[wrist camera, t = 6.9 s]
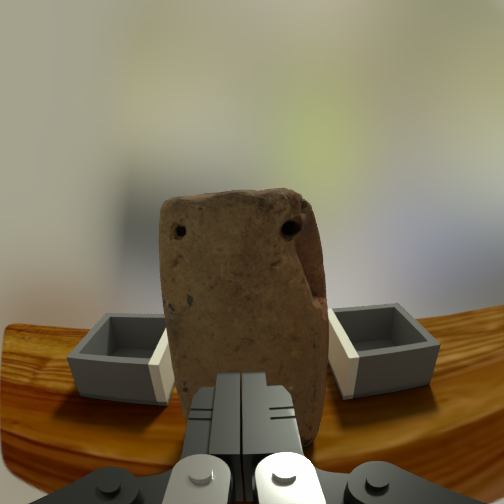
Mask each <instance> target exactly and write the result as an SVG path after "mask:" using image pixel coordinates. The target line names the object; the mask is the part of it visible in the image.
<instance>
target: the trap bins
mask: <svg viewBox="0 0 504 504" xmlns="http://www.w3.org/2000/svg"><path fill="white" fill-rule="evenodd" d="M328 318H329V352H328V363H329V366H330V368H331V371H332V373H333V376H334V378H335V381H336V383H337V386H338V388H339V391H340V394H341V396H342V399H343V400H345V399H353V398H360V397H366V396H372V395H378V394H384V393H390V392H395V391H400V390H405V389H410V388H415V387H419V386H424V385H428V384H430V381H431V378H432V375H433V371H434V368H435V364H436V360H437V356H438V353H439V349H440V345H441V344H440V343H439V342H438V341H437V340H436V339H435V338H434V337H433V336H432V335H431V334H430V333H429V332H428V331H427V330H426V329H424V328H423V327H422V326H421V325H420V324H419V323H418V322H417V321H416V320H415V319H414V318H413V317H412V316H411V315H410V314H409V313H408V312H407V311H406V310H405V309H404V308H403V307H402V306H401V305H400V304H398V303H395V304H384V305H373V306H361V307H349V308H337V309H328ZM67 360H68V363H69V366H70V369H71V372H72V375H73V378H74V380H75V383H76V386H77V389H78V391H79V394H80V396H83V397H89V398H96V399H103V400H110V401H119V402H128V403H138V404H149V405H162V406H168V403H169V400H170V397H171V394H172V390H173V387H174V384H175V379H174V373H173V369H172V362H171V356H170V350H169V344H168V337H167V330H166V323H165V315H164V314H119V313H118V314H116V313H106V314H105V315H104V316H103V317H102V318H101V320H100V321H98V323H97V324H96V325H95V326H94V327H93V328H92V329H91V330H90V331H89V332H88V334H87V335H86V336H85V337H84V338H83V339H82V340H81V341H80V343H79V344H78V345H77V346H76V347H75V348H74V349H73V350H72V352H71V353H70V354H69V355H68V356H67Z"/></svg>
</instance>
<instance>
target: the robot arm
mask: <svg viewBox="0 0 504 504" xmlns="http://www.w3.org/2000/svg"><path fill="white" fill-rule="evenodd" d="M243 464H244V479H245V493H246V501H253V504H486V503H484V502H481V501H478V500H475V499H472V498H470V497H467V496H464V495H462V494H459V493H456V492H454V491H451V490H449V489H446V488H444V487H441V486H439V485H437V484H434V483H432V482H430V481H427V480H425V479H423V478H421V477H418V476H416V475H414V474H412V473H410V472H407V471H405V470H403V469H401V468H399V467H397V466H395V465H393V464H390V463H387V462H383V461H371V462H366V463H364V464H361V465H359V466H358V467H356V468H355V469H354V470H353V471H352V472H351V474H343V473H333V472H326V471H323V470H320V469H318V468H316V467H314V466H313V465H312V464H311V462H310V461H309V460H308V459H306V458H305V456H304V454H303V450H302V445H301V440H300V436H299V431H298V426H297V421H296V418H295V412H294V409H293V403H292V398H291V394H290V393H289V392H288V391H287V390H286V389H285V388H284V387H283V386H282V385H278V386H267V385H266V376H265V371H250V372H242V394H241V374H240V372H218V373H217V380H216V387H201V388H200V389H199V390H198V392H197V393H196V394H195V395H194V396H193V399H192V404H191V411H190V414H189V420H188V424H187V429H186V434H185V439H184V445H183V450H182V455H181V458H180V460H179V462H178V463H177V464H176V465H175V466H174V467H173V468H172V469H170V470H169V471H167V472H164V473H162V474H158V475H152V476H145V477H137V478H135V476H134V475H133V474H132V473H130V472H129V471H127V470H125V469H122V468H119V467H104V468H100V469H98V470H95V471H94V472H92V473H90V474H88V475H86V476H84V477H82V478H81V479H79V480H77V481H75V482H73V483H71V484H69V485H67V486H65V487H63V488H61V489H59V490H57V491H55V492H53V493H51V494H49V495H47V496H44V497H42V498H40V499H38V500H36V501H34V502H31V503H29V504H236V501H244V488H243Z"/></svg>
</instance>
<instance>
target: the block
mask: <svg viewBox="0 0 504 504" xmlns="http://www.w3.org/2000/svg"><path fill="white" fill-rule="evenodd" d="M159 255H160V256H159V258H160V279H161V289H162V299H163V307H164V315H165V323H166V330H167V337H168V344H169V350H170V356H171V362H172V369H173V373H174V379H175V385H176V389H177V392H178V395H179V399H180V403H181V407H182V412H183V414H184V417H185V419H186V422H187V423H188V420H189V414H190V411H191V404H192V399H193V396H194V395H195V394H196V393H197V392H198V390H199V389H200V388H201V387H216V380H217V373H218V372H240V374H241V394H242V372H250V371H265V376H266V385H267V386H278V385H282V386H283V387H284V388H285V389H286V390H287V391H288V392H289V393H290V394H291V398H292V403H293V409H294V412H295V418H296V421H297V426H298V431H299V436H300V440H301V445H302V447H305V446H308V445H310V444H311V443H312V442H313V441H314V439H315V438H316V436H317V433H318V430H319V426H320V422H321V418H322V413H323V407H324V400H325V392H326V381H327V367H328V352H329V318H328V308H327V299H326V283H325V273H324V266H323V254H322V247H321V241H320V236H319V231H318V227H317V224H316V220H315V216H314V213H313V211H312V207H311V205H310V204H309V203H308V202H307V201H306V200H305V199H302V196H301V195H300V194H298V193H296V192H294V191H293V190H288V189H286V188H276V189H267V190H260V191H255V190H232V191H226V192H217V193H205V194H200V195H195V196H182V197H173V198H170V199H168V200H166V201H165V202H164V203H163V204H162V206H161V210H160V220H159Z"/></svg>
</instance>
